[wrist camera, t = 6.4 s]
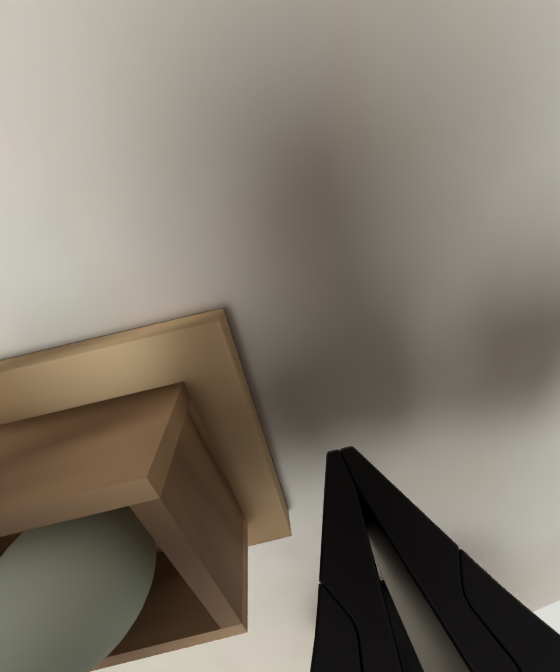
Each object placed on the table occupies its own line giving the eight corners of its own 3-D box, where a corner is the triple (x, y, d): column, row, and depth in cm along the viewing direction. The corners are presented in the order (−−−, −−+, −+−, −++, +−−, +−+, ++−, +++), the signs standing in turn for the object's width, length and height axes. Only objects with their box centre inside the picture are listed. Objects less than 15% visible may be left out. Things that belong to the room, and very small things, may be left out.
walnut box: (183, 381, 7) (146, 477, 5) (247, 523, 10) (247, 632, 8) (-63, 439, 7) (-243, 571, 5) (73, 566, 10) (12, 690, 8)
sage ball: (143, 454, 8) (64, 635, 4) (186, 525, 9) (153, 697, 6) (19, 484, 8) (-152, 687, 4) (85, 550, 9) (-5, 736, 6)
